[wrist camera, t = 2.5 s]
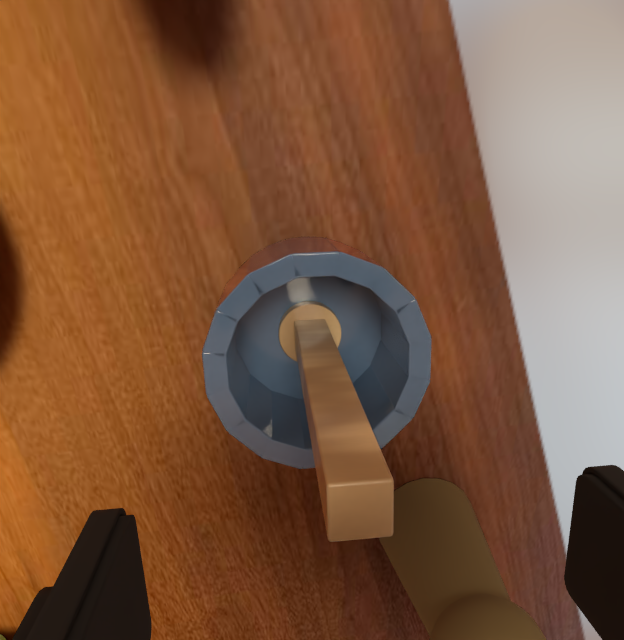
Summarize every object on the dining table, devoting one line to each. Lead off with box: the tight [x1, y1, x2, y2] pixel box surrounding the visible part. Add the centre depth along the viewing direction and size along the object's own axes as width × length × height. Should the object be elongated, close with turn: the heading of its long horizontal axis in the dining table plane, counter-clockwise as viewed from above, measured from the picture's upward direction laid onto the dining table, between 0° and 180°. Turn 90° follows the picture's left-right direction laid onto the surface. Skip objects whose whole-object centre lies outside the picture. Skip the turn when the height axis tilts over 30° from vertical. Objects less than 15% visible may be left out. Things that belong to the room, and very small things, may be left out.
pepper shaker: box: [379, 478, 547, 640], centre depth 25 cm, size 6×6×11 cm
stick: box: [279, 301, 394, 542], centre depth 19 cm, size 3×3×15 cm
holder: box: [202, 237, 431, 469], centre depth 24 cm, size 10×10×6 cm
